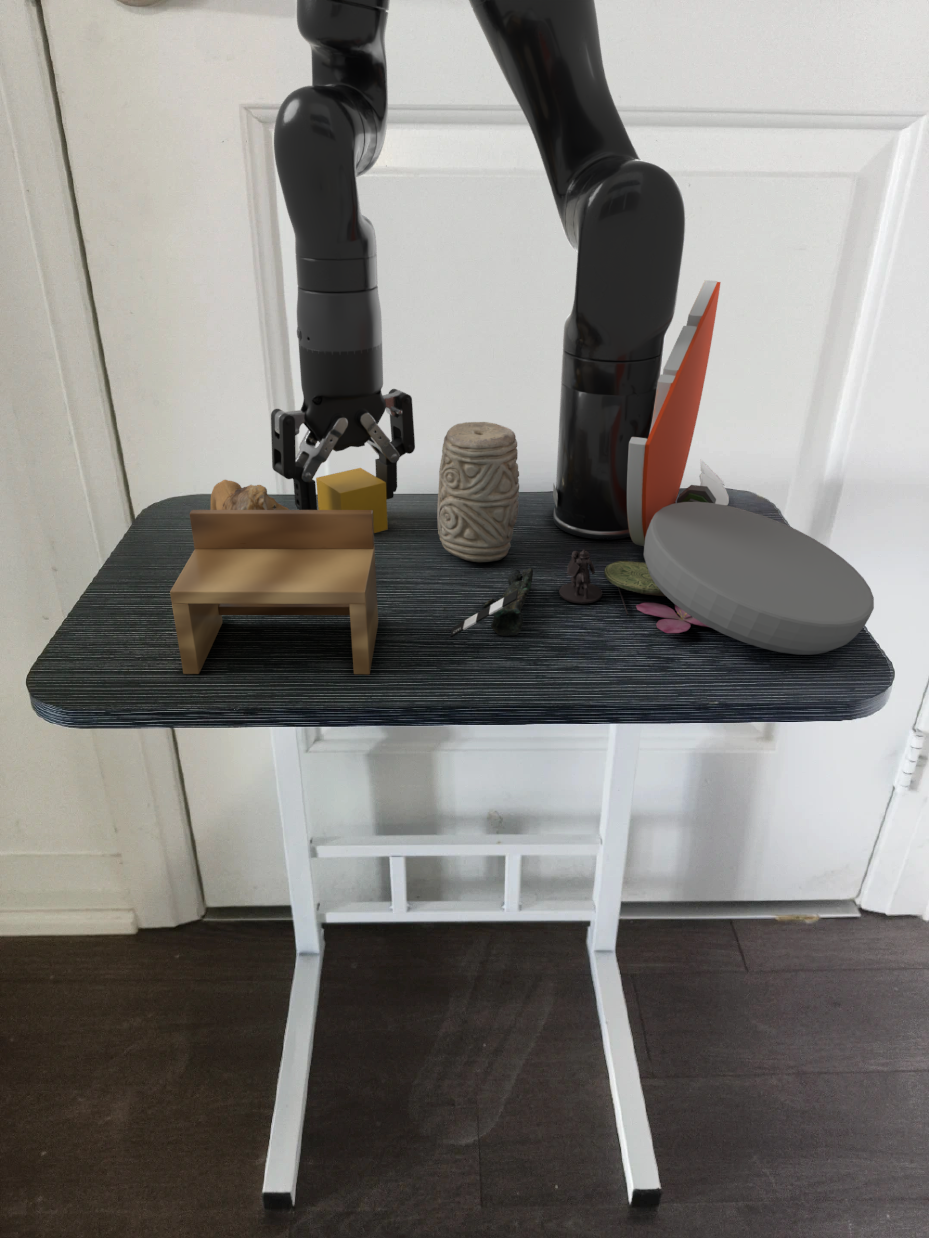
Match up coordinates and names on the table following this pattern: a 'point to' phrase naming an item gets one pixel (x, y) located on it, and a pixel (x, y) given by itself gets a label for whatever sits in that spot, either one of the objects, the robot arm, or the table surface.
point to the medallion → (632, 577)
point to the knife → (706, 489)
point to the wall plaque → (671, 419)
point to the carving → (478, 491)
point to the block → (354, 494)
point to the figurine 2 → (582, 581)
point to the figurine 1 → (504, 607)
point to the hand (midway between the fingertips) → (348, 505)
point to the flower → (669, 617)
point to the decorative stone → (755, 578)
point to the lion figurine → (242, 497)
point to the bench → (277, 574)
